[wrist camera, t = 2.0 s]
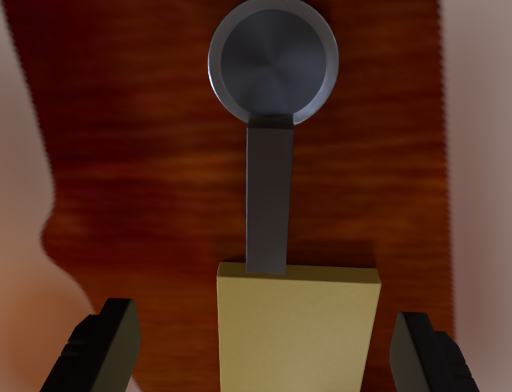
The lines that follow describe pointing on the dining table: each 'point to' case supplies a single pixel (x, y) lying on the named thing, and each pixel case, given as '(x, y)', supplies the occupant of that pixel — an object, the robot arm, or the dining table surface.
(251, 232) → the frying pan
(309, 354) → the board
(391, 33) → the dining table surface
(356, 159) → the dining table surface
